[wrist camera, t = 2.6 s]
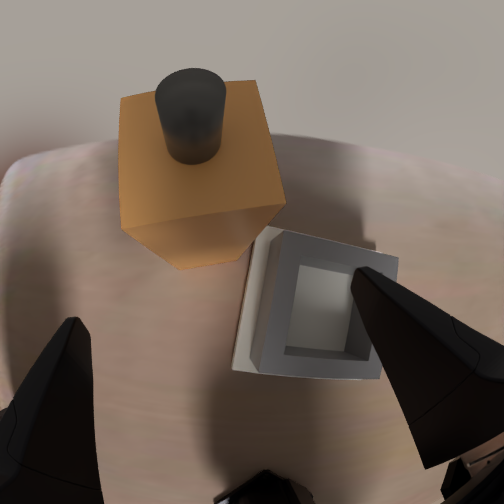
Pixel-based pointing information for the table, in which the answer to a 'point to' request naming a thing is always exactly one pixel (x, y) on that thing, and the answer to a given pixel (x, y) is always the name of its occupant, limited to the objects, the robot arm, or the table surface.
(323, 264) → the socket
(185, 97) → the plug
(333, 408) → the table surface
